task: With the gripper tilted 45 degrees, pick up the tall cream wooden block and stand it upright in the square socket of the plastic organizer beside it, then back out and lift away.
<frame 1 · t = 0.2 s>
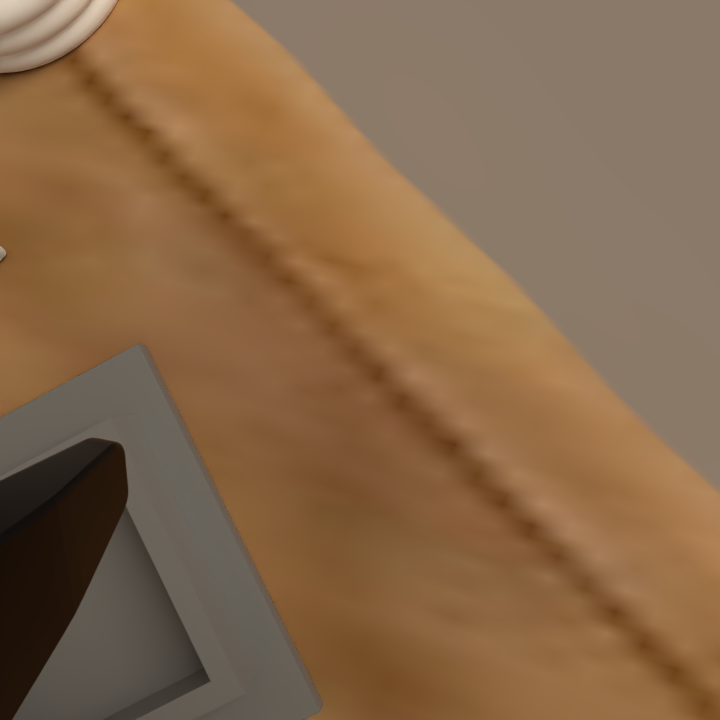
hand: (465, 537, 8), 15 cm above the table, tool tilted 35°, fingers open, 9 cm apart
organizer: (85, 596, 24), on the table
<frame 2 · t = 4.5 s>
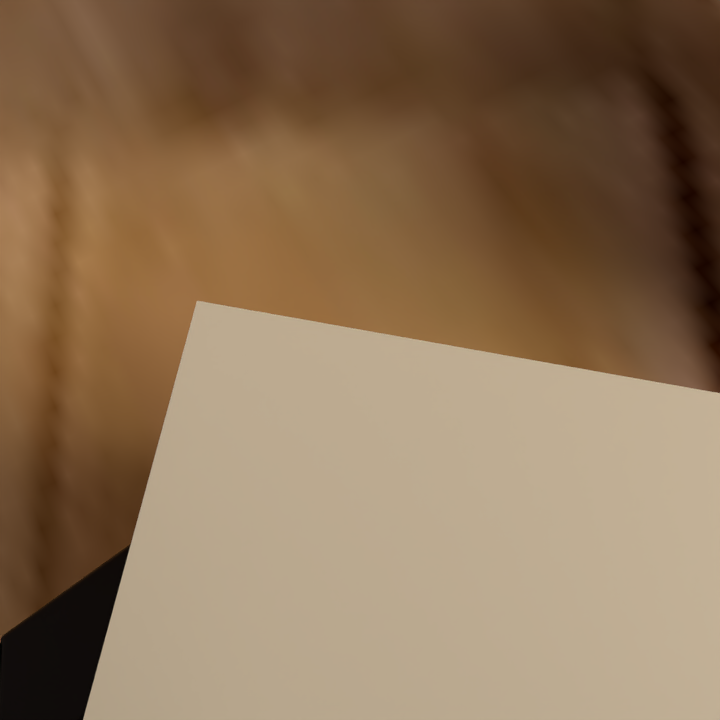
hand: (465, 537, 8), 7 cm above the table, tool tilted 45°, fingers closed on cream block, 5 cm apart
cream block: (420, 601, 14), on the table, touching gripper
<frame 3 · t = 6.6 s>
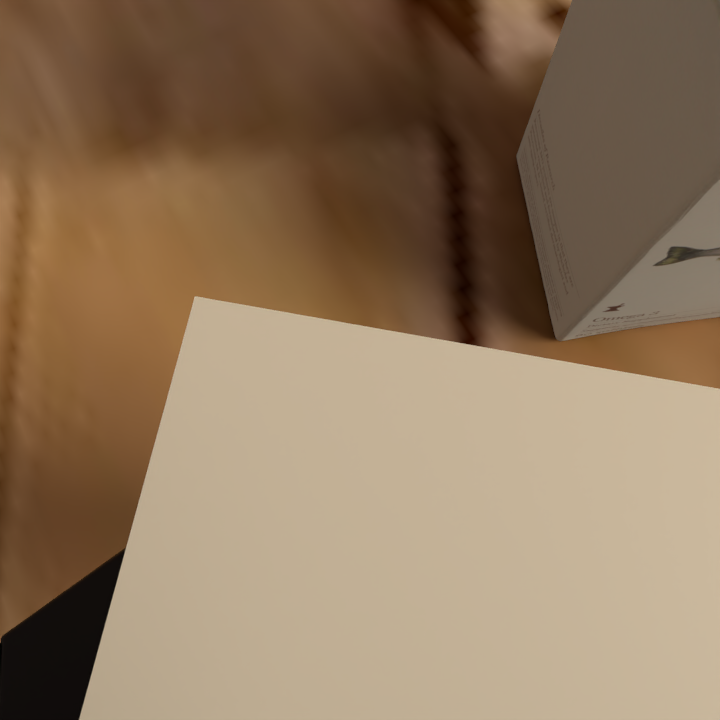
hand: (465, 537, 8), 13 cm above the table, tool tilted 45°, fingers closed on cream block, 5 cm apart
supplement box: (633, 235, 23), on the table
cream block: (419, 600, 14), point 7 cm above the table, touching gripper
when the fingers open (8 cm above the table, at t = 8.8 s): cream block drops 1 cm, resting on organizer.
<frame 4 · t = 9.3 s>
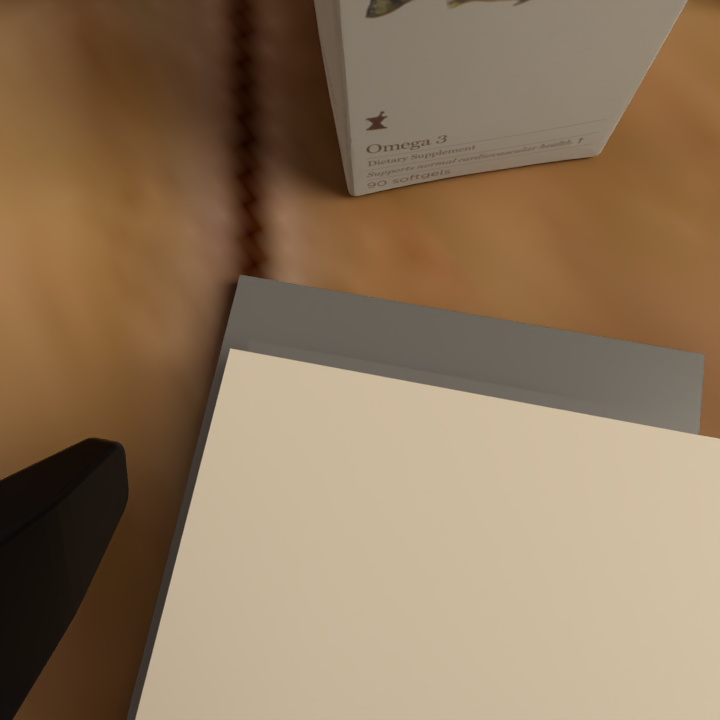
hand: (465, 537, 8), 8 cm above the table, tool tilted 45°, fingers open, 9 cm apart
supplement box: (450, 79, 20), on the table
organizer: (417, 593, 16), on the table
cream block: (416, 596, 15), point 1 cm above the table, touching organizer
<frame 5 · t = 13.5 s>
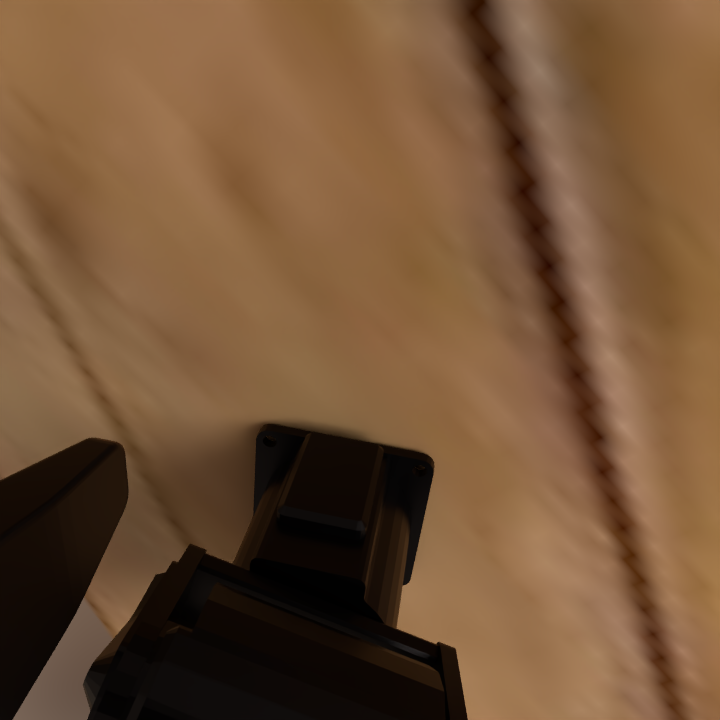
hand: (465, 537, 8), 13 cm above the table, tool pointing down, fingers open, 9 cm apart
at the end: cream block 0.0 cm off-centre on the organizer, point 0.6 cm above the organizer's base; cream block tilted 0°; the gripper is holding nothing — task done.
